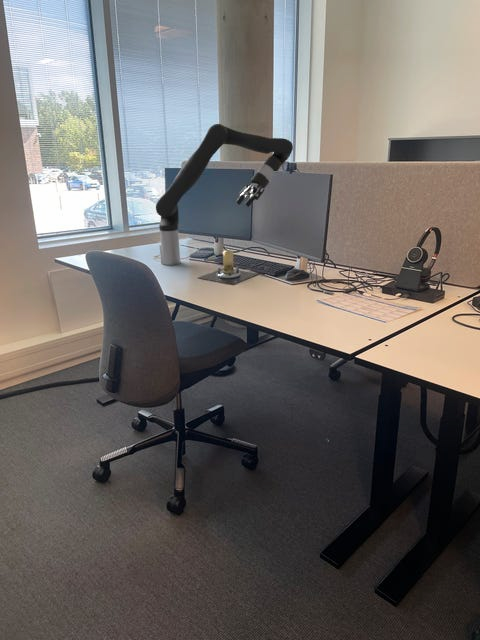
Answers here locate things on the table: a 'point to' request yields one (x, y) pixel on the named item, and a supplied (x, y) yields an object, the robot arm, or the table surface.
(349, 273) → the table surface
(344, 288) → the table surface
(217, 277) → the flange
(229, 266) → the gold upright cylinder
